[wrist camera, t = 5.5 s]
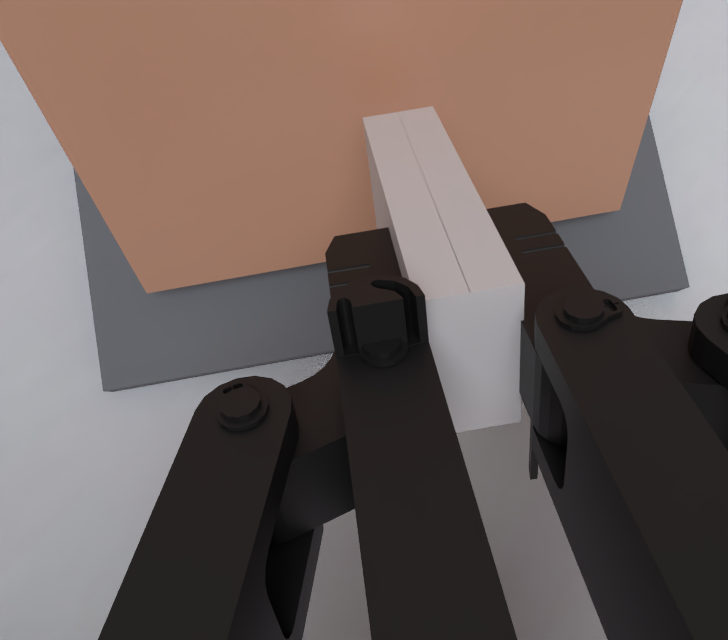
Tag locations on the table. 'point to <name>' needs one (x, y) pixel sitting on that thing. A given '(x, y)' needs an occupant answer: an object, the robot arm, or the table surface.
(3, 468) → the table surface
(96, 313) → the mat
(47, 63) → the tile
